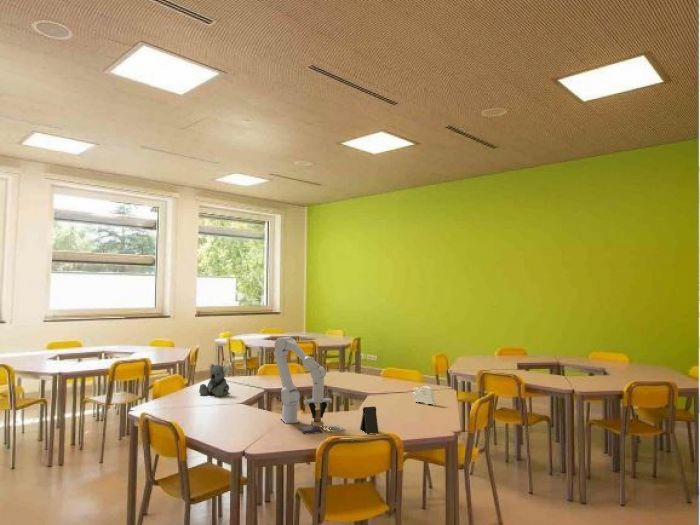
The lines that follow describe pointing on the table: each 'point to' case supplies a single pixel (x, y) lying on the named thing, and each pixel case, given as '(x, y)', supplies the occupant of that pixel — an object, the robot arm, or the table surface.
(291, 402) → the robot arm
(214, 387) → the koala plush
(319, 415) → the stamp
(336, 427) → the desk mat
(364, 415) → the phone stand
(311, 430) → the ink pad
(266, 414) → the table surface
